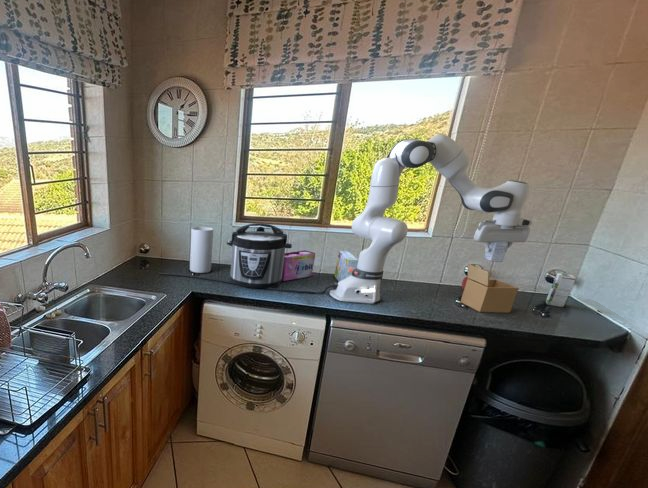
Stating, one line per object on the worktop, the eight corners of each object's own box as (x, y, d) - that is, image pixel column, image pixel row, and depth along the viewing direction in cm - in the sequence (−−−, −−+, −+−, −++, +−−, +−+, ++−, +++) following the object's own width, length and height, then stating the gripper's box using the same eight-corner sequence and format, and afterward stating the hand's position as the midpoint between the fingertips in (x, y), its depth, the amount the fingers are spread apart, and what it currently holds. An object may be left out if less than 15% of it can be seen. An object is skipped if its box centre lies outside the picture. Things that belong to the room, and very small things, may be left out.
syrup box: (544, 301, 192) (556, 272, 187) (561, 304, 189) (573, 274, 184) (547, 304, 188) (558, 275, 183) (564, 307, 185) (576, 277, 179)
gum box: (281, 281, 219) (285, 257, 214) (271, 278, 226) (274, 254, 221) (312, 276, 230) (316, 252, 225) (301, 272, 237) (304, 250, 232)
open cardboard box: (479, 311, 179) (487, 287, 175) (460, 301, 191) (467, 278, 187) (510, 312, 178) (518, 288, 174) (488, 302, 190) (496, 279, 186)
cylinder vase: (212, 269, 243) (215, 227, 233) (207, 274, 232) (210, 231, 223) (192, 267, 247) (194, 226, 238) (187, 272, 236) (189, 229, 227)
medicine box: (502, 262, 174) (509, 242, 171) (490, 261, 176) (496, 242, 173) (495, 258, 181) (501, 239, 178) (483, 257, 183) (489, 238, 179)
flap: (488, 285, 175) (487, 286, 175) (468, 277, 187) (467, 277, 187) (489, 272, 172) (488, 272, 172) (468, 264, 184) (467, 264, 184)
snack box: (353, 288, 209) (359, 260, 204) (342, 287, 210) (347, 259, 205) (343, 276, 229) (349, 250, 223) (333, 276, 230) (338, 250, 224)
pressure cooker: (215, 280, 221) (219, 222, 209) (248, 272, 237) (254, 217, 225) (260, 294, 199) (268, 230, 187) (293, 284, 215) (302, 224, 203)
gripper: (485, 221, 170) (476, 253, 175) (536, 221, 169) (525, 253, 174) (475, 219, 175) (466, 250, 181) (524, 219, 174) (513, 250, 179)
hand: (495, 252), depth 177 cm, fingers closed on medicine box, 5 cm apart
